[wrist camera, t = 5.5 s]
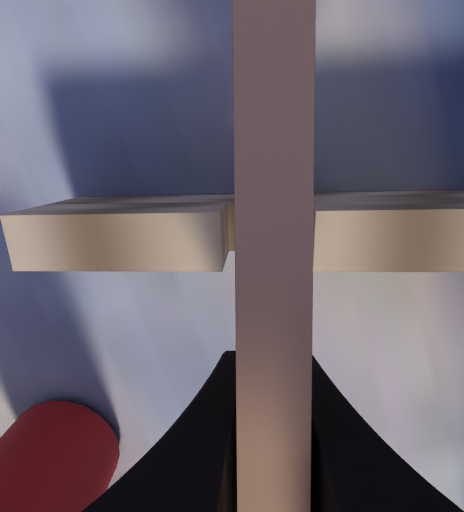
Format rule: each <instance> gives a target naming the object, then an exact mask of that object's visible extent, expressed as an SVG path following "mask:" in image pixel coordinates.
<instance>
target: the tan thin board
mask: <svg viewBox="0 0 464 512" xmlns="http://www.w3.org/2000/svg"><path fill="white" fill-rule="evenodd" d="M315 20H316V0H233V94H234V202H235V310H236V418H237V512H310V499H311V403H312V308H313V212H314V116H315Z"/></svg>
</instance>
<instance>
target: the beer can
mask: <svg viewBox="0 0 464 512" xmlns="http://www.w3.org/2000/svg"><path fill="white" fill-rule="evenodd" d="M118 459H119V446H118V440H117V437H116V435H115V433H114V432H113V430H112V428H111V426H110V424H108V423H107V422H106V421H105V420H104V419H103V418H102V417H101V416H100V415H99V414H98V413H96V412H95V411H93V410H91V409H89V408H88V407H86V406H84V405H80V404H77V403H74V402H70V401H48V402H45V403H41V404H37V405H34V406H33V407H31V408H30V409H28V410H27V411H25V412H24V413H22V414H21V415H20V417H19V418H18V419H17V420H16V421H15V422H14V423H13V424H12V426H11V427H10V428H9V429H8V430H7V431H6V432H5V433H4V434H3V436H2V437H1V438H0V512H81V511H82V510H83V509H85V508H86V507H87V506H88V505H90V504H91V503H92V502H93V501H95V500H96V499H97V498H98V497H100V496H101V495H102V494H103V493H104V492H105V491H106V490H107V487H108V485H109V483H110V481H111V478H112V476H113V474H114V471H115V469H116V467H117V463H118Z"/></svg>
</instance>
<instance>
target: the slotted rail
mask: <svg viewBox="0 0 464 512" xmlns="http://www.w3.org/2000/svg"><path fill="white" fill-rule="evenodd" d="M0 219H1V223H2V227H3V231H4V236H5V240H6V244H7V248H8V252H9V256H10V260H11V265H12V269H13V271H197V272H222V271H223V267H224V264H225V261H226V258H227V255H228V252H229V251H235V202H234V194H223V195H170V196H116V197H77V198H73V199H69V200H64V201H60V202H56V203H51V204H47V205H43V206H38V207H34V208H30V209H26V210H21V211H17V212H13V213H8V214H4V215H0ZM313 272H464V190H436V191H383V192H330V193H314V212H313Z"/></svg>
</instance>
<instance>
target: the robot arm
mask: <svg viewBox="0 0 464 512" xmlns="http://www.w3.org/2000/svg"><path fill="white" fill-rule="evenodd" d="M81 512H237V418H236V351H225V352H224V353H223V354H222V356H221V358H220V360H219V362H218V364H217V365H216V367H215V369H214V370H213V372H212V373H211V375H210V376H209V378H208V379H207V381H206V382H205V384H204V385H203V387H202V388H201V389H200V391H199V392H198V394H197V395H196V396H195V398H194V399H193V400H192V402H191V403H190V404H189V406H188V407H187V408H186V409H185V410H184V412H183V413H182V414H181V415H180V417H179V418H178V419H177V420H176V422H175V423H174V424H173V425H172V426H171V427H170V429H169V430H168V431H167V432H166V433H165V434H164V435H163V436H162V437H161V439H160V440H159V441H158V442H157V443H156V444H155V445H154V446H153V447H152V448H151V449H150V450H149V451H148V452H147V453H146V454H145V455H144V456H143V457H142V458H141V459H140V460H139V461H138V462H137V463H136V464H135V465H134V466H133V467H132V468H131V469H129V470H128V471H127V472H126V473H125V474H124V475H123V476H122V477H121V478H120V479H119V480H118V481H117V482H116V483H114V484H113V485H112V486H111V487H110V488H109V489H108V490H107V491H105V492H104V493H103V494H102V495H101V496H100V497H98V498H97V499H96V500H95V501H93V502H92V503H91V504H90V505H88V506H87V507H86V508H85V509H83V510H82V511H81ZM310 512H464V511H463V510H462V509H460V508H459V507H458V506H457V505H455V504H454V503H453V502H452V501H451V500H449V499H448V498H447V497H446V496H444V495H443V494H442V493H441V492H439V491H438V490H437V489H436V488H435V487H433V486H432V485H431V484H430V483H429V482H428V481H426V480H425V479H424V478H423V477H422V476H421V475H420V474H418V473H417V472H416V471H415V470H414V469H413V468H412V467H411V466H410V465H409V464H408V463H406V462H405V461H404V460H403V459H402V458H401V457H400V456H399V455H398V454H397V453H396V452H395V451H394V450H393V449H392V448H391V447H390V446H389V445H388V444H387V443H386V442H385V441H384V440H383V439H382V438H381V437H380V436H379V435H378V434H377V433H376V432H375V431H374V430H373V429H372V428H371V427H370V426H369V425H368V423H367V422H366V421H365V420H364V419H363V418H362V417H361V416H360V415H359V414H358V412H357V411H356V410H355V409H354V408H353V407H352V405H351V404H350V403H349V402H348V401H347V399H346V398H345V397H344V396H343V395H342V394H341V392H340V391H339V390H338V389H337V387H336V386H335V385H334V384H333V382H332V381H331V380H330V378H329V377H328V376H327V374H326V373H325V372H324V370H323V369H322V368H321V366H320V365H319V363H318V362H317V360H316V359H315V358H314V356H313V355H312V403H311V499H310Z"/></svg>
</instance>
